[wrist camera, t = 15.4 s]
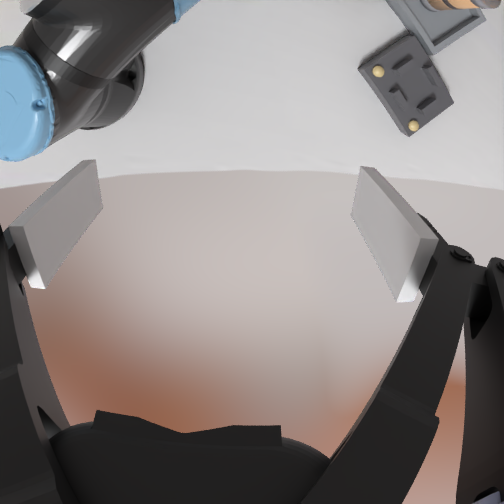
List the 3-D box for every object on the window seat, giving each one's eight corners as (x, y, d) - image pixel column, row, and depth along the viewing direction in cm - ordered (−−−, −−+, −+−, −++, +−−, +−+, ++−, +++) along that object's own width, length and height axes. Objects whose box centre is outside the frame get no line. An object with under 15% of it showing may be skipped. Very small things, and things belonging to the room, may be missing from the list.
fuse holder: (357, 69, 38) (368, 70, 34) (405, 35, 34) (420, 35, 31) (400, 131, 43) (414, 140, 39) (444, 99, 40) (460, 105, 36)
